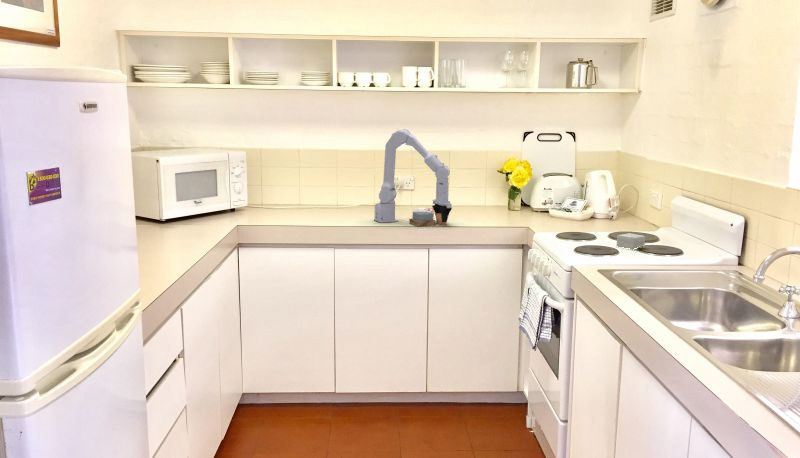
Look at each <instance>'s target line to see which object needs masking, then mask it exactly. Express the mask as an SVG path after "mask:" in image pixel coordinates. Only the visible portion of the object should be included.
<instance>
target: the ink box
mask: <svg viewBox="0 0 800 458" xmlns="http://www.w3.org/2000/svg"><path fill="white" fill-rule="evenodd" d="M413 212H429V213H432V214H433V218H434V214H435V212H434V209H433V207H416V208H415V209H414V210H413V211H412V213H413ZM411 216H412V218H413V214H412V215H411ZM412 218H411V219H412Z"/></svg>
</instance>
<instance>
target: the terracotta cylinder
mask: <svg viewBox="0 0 800 458" xmlns="http://www.w3.org/2000/svg"><path fill="white" fill-rule="evenodd" d="M435 220H436V225H438V226H445V225H448V221H447V222H442V216H441V213H436V216H435Z"/></svg>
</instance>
